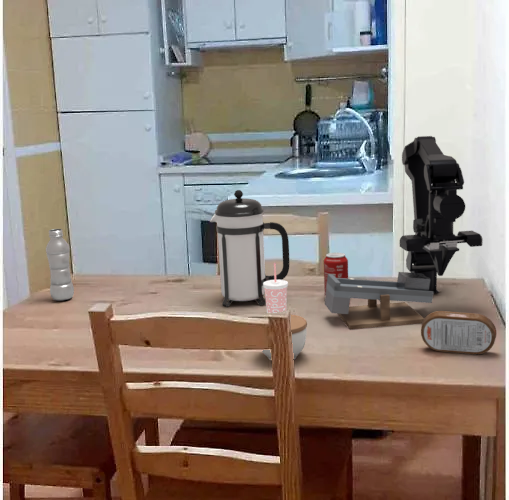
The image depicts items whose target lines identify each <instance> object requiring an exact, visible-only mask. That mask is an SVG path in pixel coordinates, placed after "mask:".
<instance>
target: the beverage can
mask: <svg viewBox="0 0 509 500" xmlns="http://www.w3.org/2000/svg"><path fill="white" fill-rule="evenodd" d="M325 256H326V257H325V258H324V260H323V279H324V280H323V281H324V282H323V283H324V296H325V295H326V285H327V277H328V274H333V275H334V276H335V277H336V278H347V279H349V259H348V258H347V257H346V254H345V253H344V252H329V253H326V255H325Z"/></svg>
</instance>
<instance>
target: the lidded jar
mask: <svg viewBox="0 0 509 500" xmlns="http://www.w3.org/2000/svg"><path fill="white" fill-rule="evenodd" d="M290 315H291V332H292V343H293V353H294V360H295V359H296V358H298V357H297V356H299V355H300V353H301V352H302V351H303V349H304V348H305V345H306V340H307V327H308V326H307V325H308V324H307V322H308V321H307V319H305V317H303V316H300V315H296V314H290ZM261 352H262V354H264V355H265V357H267V359H268V360H269V361H271V353H270V350H263V351H261Z"/></svg>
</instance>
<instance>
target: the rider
mask: <svg viewBox="0 0 509 500" xmlns="http://www.w3.org/2000/svg"><path fill="white" fill-rule="evenodd" d="M397 273H398V274H397V281H396V282H397V287H396V288H397V289H407V290H423V291H429V285H430V278H428V277H427V276H425V275H424V274H422V273H411V272H410V271H407V272H406V271H398V272H397Z"/></svg>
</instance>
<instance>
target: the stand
mask: <svg viewBox="0 0 509 500" xmlns="http://www.w3.org/2000/svg"><path fill="white" fill-rule="evenodd" d="M390 301H391V300H390V295H389V294H387V295H380V301H379V303H377V302H378V300H375V299H367V304H365V305H352V306H349V312H348V314H337V316H338V317H339V318H340V319H341V320H342V322H343V323H344V324H345V325H346V327H347V328H348V330H360V329H371V328H383V327H394V326H407V325H419V324H422V322H423V320H424V319H425V317H423V315H421V314H420V313H418V312H417V311H416V310H415V309H414V308H412V306H411V305H409V304H408V302H406V301H398V302H390Z"/></svg>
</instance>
